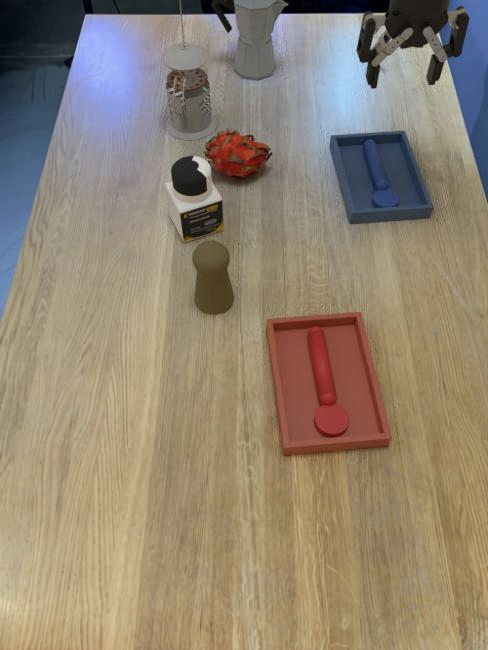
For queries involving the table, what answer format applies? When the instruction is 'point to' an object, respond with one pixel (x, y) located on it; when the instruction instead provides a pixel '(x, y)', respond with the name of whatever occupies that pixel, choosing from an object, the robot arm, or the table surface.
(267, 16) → the coffee maker
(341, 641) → the table surface
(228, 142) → the dragon fruit
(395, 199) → the blue spoon
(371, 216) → the blue tray
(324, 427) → the red spoon
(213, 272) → the cork
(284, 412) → the red tray
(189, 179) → the medicine bottle
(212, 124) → the french press
